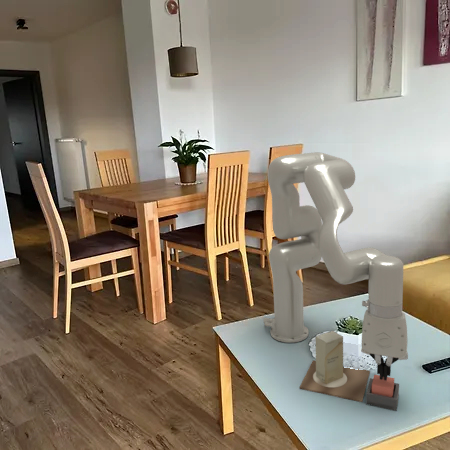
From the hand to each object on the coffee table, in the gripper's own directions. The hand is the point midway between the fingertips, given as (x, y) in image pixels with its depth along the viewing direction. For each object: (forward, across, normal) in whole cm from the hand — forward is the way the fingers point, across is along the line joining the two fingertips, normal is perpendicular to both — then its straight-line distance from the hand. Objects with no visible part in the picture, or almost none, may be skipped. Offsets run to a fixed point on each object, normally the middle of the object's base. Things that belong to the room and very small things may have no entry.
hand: (383, 376), depth 105 cm
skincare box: (+6, -14, +4) cm, 16 cm away
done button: (+4, 0, 0) cm, 4 cm away
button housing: (+6, 0, 0) cm, 6 cm away
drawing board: (+6, -13, +4) cm, 15 cm away
